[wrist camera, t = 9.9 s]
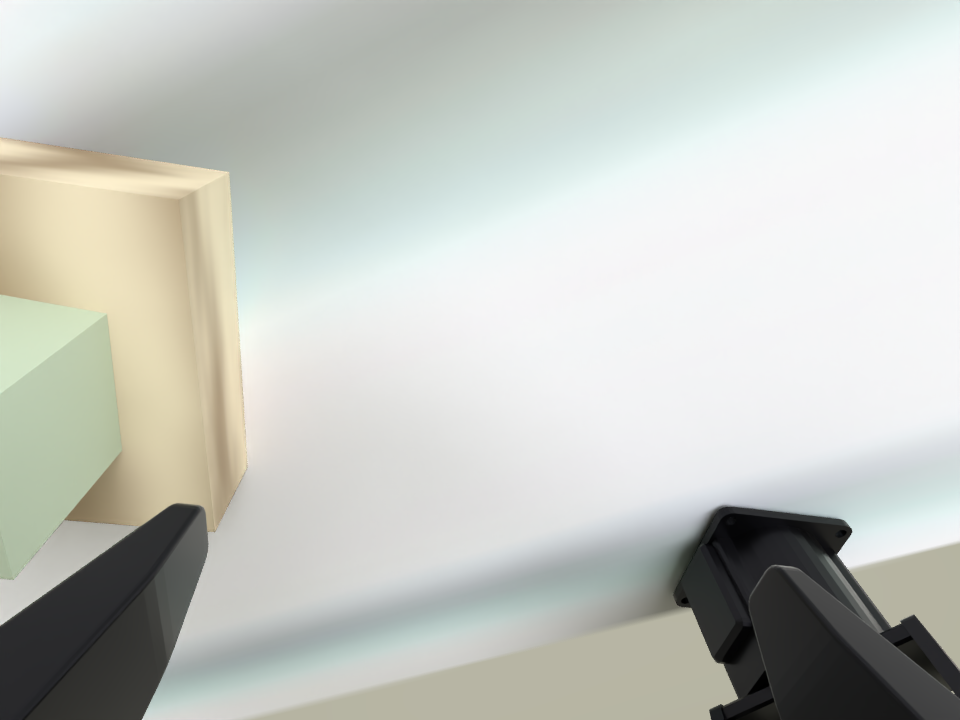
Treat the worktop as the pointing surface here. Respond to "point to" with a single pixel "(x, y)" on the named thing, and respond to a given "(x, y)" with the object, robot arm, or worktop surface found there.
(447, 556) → the worktop surface
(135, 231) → the birch block
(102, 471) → the sage cube
